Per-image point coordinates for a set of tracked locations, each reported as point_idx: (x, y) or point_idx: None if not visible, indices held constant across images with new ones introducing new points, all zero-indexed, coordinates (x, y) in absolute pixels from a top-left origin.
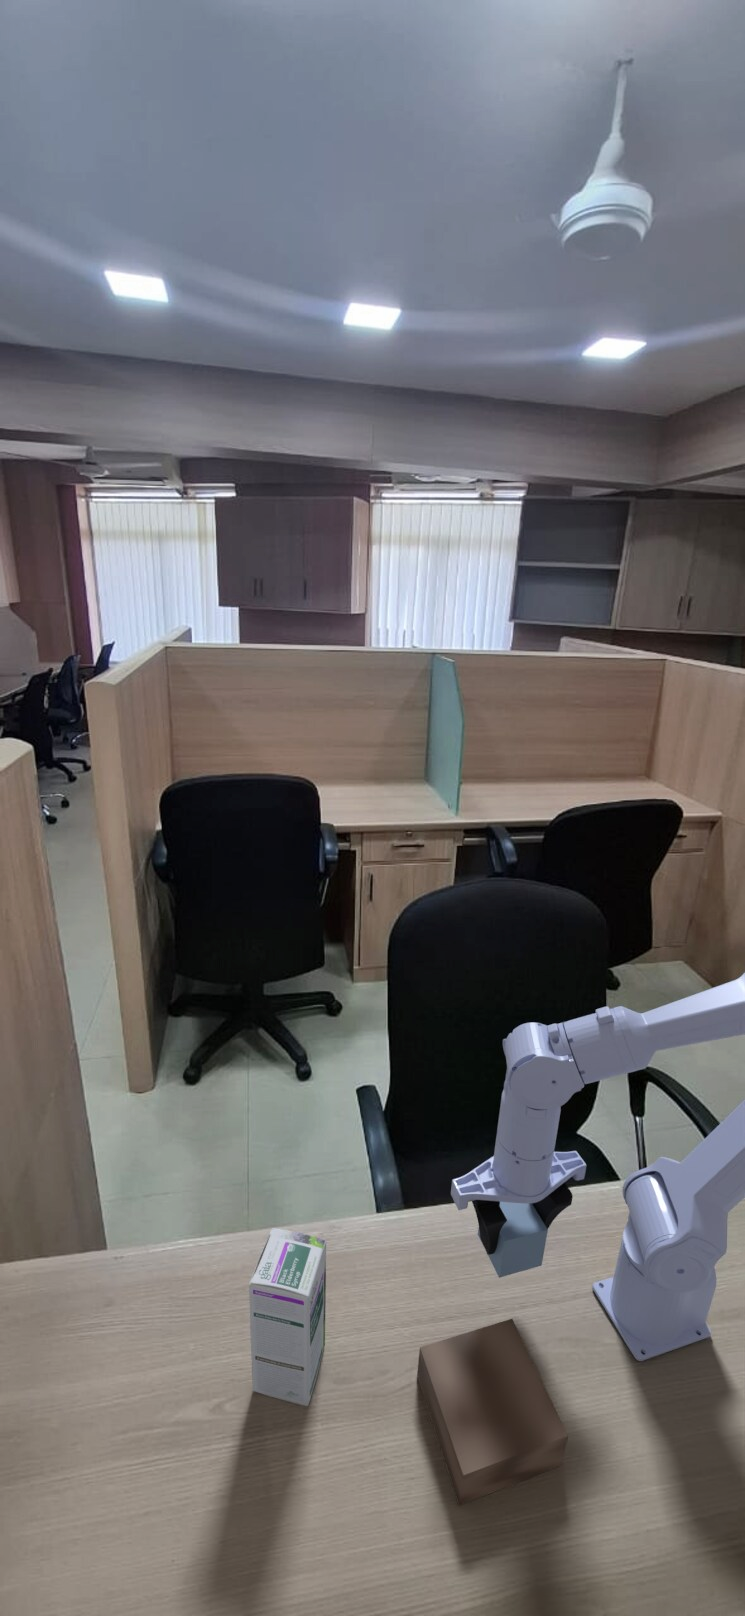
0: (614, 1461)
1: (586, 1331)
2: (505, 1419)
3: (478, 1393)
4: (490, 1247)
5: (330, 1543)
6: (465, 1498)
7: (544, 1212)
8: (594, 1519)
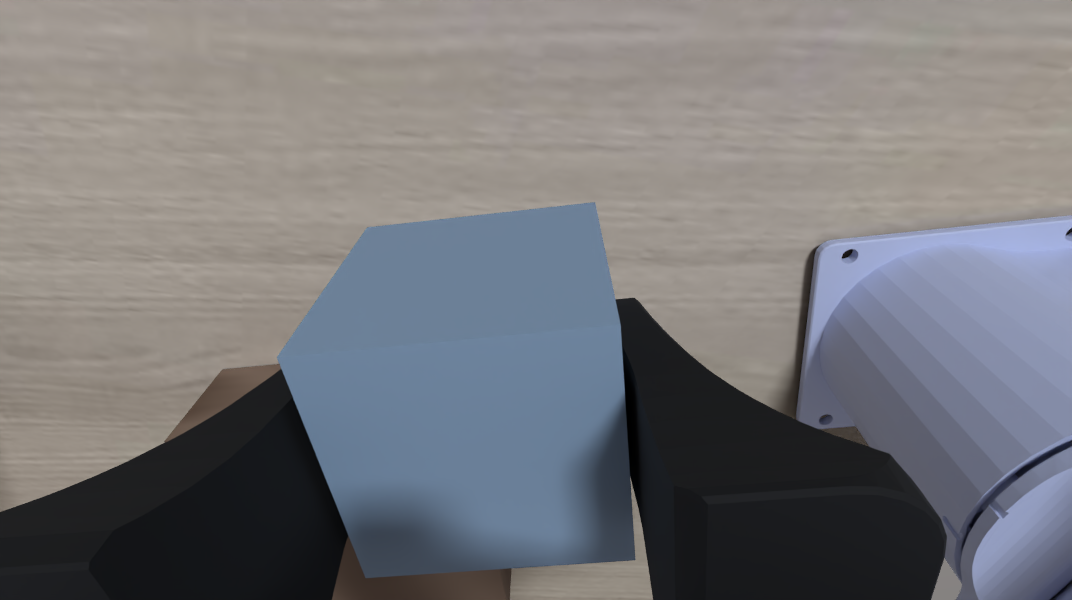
0: None
1: (714, 343)
2: (376, 578)
3: None
4: None
5: None
6: None
7: (650, 566)
8: (538, 580)
